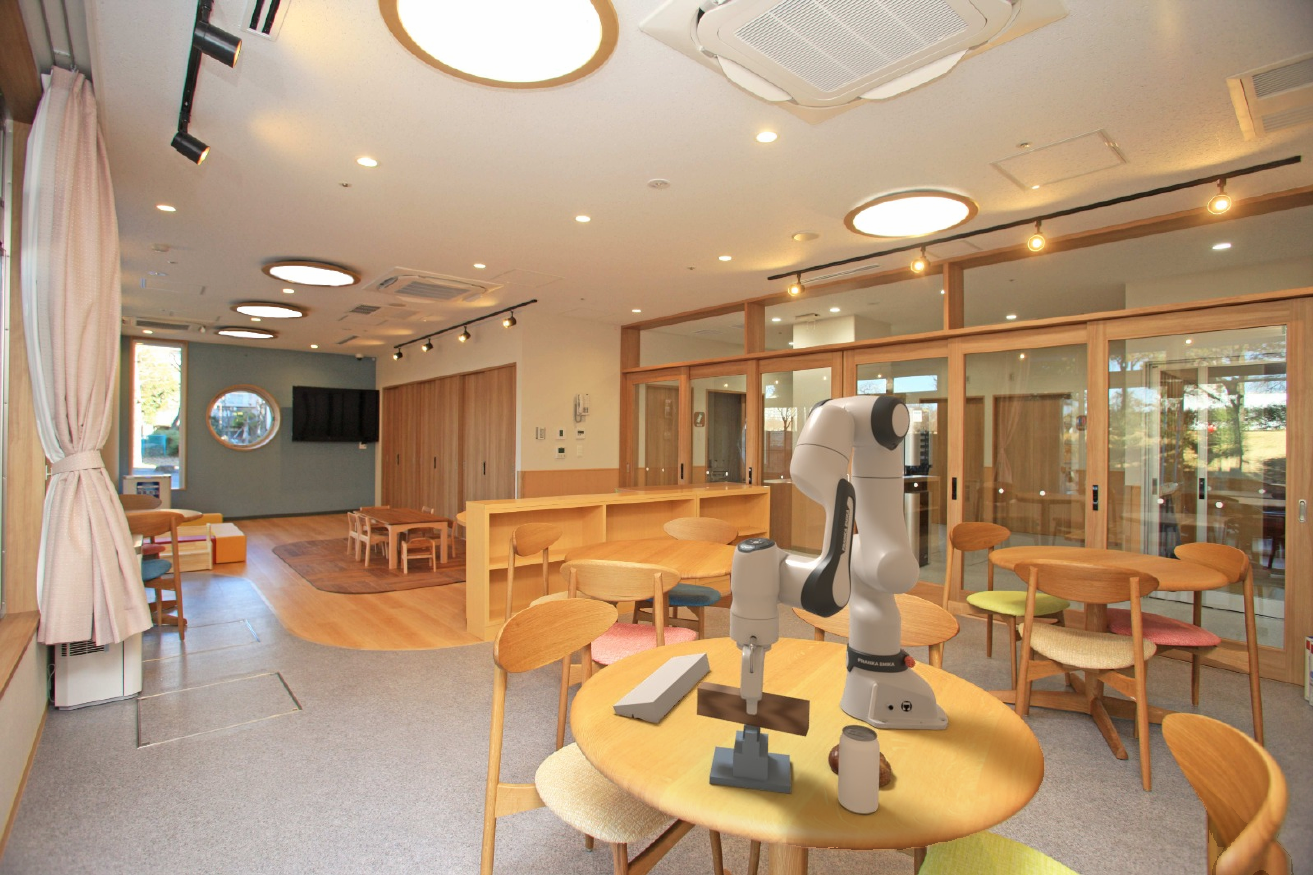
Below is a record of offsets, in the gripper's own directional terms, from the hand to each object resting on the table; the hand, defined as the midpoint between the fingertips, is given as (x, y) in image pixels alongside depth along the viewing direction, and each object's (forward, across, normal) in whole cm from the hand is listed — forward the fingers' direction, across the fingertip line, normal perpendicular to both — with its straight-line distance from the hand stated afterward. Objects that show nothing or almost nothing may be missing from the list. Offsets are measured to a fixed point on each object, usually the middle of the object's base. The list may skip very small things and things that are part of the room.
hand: (752, 704), depth 114 cm
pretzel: (+13, +5, -20) cm, 24 cm away
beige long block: (+13, +33, +22) cm, 41 cm away
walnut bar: (+3, 0, 0) cm, 3 cm away
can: (+12, -6, -18) cm, 23 cm away
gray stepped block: (+12, 0, 0) cm, 12 cm away
